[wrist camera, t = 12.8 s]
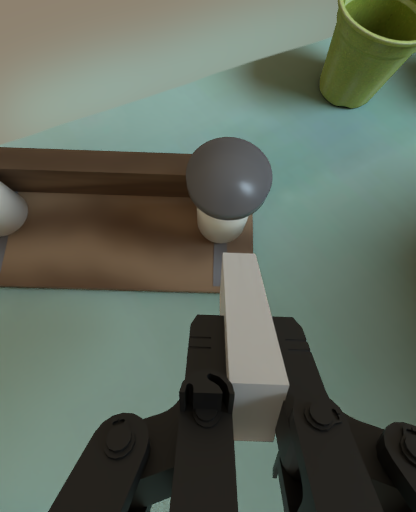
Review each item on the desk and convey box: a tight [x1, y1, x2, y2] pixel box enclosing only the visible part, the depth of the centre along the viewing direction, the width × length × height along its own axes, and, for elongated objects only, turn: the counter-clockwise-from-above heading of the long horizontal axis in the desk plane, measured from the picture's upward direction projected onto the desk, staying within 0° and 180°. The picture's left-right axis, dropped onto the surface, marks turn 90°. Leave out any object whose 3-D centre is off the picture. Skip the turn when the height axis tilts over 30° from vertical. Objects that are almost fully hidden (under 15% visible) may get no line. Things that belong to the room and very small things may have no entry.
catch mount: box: [0, 147, 253, 293], centre depth 24 cm, size 11×26×5 cm, turn 88°
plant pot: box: [320, 0, 416, 108], centre depth 27 cm, size 9×9×9 cm
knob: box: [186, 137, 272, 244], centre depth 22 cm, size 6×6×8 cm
